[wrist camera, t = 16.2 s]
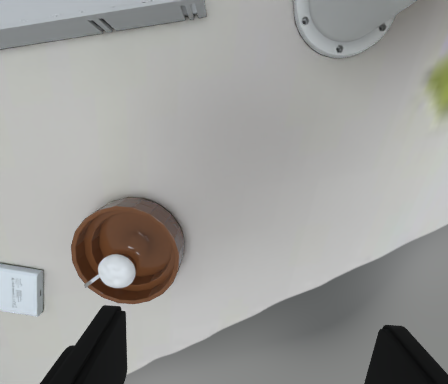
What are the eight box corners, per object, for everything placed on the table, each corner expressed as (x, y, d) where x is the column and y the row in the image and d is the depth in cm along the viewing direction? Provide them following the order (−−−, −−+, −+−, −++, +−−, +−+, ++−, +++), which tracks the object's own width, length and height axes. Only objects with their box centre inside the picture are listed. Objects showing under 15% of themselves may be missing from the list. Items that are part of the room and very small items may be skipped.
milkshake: (115, 233, 38) (77, 269, 28) (148, 226, 38) (121, 259, 28) (125, 259, 39) (91, 302, 29) (157, 252, 39) (134, 293, 29)
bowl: (87, 193, 37) (67, 202, 32) (186, 200, 37) (180, 211, 32) (93, 279, 41) (75, 300, 36) (183, 286, 41) (177, 307, 36)
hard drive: (-34, 256, 40) (43, 269, 40) (-31, 299, 42) (43, 311, 42) (-45, 261, 38) (36, 275, 39) (-41, 306, 40) (36, 318, 41)
